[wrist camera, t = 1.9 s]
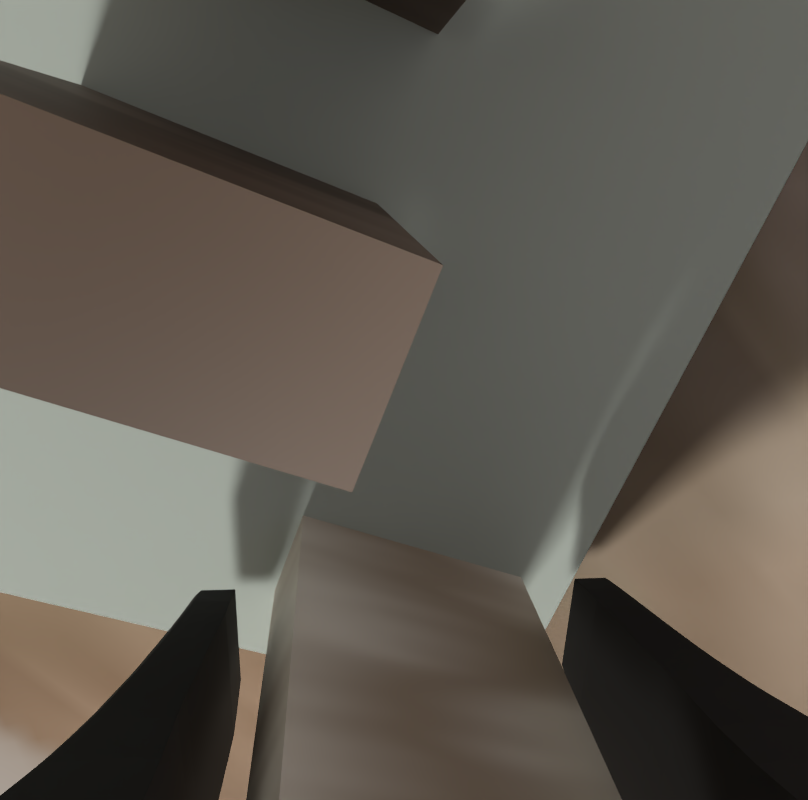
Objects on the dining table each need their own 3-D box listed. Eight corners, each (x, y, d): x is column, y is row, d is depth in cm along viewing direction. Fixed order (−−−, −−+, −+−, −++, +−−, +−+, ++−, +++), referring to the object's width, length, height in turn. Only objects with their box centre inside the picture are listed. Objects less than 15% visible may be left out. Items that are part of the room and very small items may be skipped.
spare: (520, 577, 14) (690, 951, 7) (487, 643, 14) (616, 1048, 8) (302, 515, 13) (270, 886, 6) (275, 589, 13) (219, 1004, 7)
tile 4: (377, 203, 11) (442, 264, 4) (341, 303, 11) (351, 492, 5) (80, 84, 10) (-412, -67, 3) (55, 200, 10) (-410, 266, 4)
